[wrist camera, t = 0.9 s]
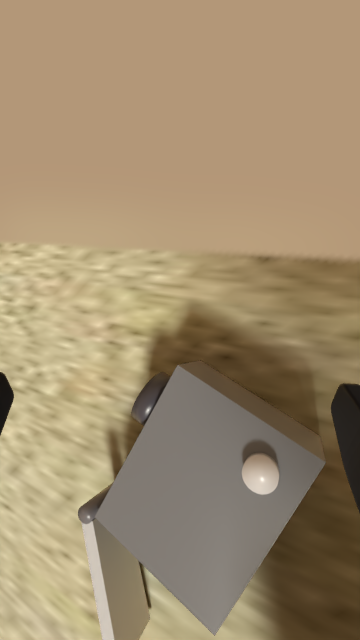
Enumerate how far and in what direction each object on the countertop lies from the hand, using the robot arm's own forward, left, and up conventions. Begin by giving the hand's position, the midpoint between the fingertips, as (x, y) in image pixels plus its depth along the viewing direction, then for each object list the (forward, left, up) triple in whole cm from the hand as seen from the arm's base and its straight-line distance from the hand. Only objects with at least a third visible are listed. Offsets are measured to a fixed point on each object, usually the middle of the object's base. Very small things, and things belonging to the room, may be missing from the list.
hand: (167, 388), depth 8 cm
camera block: (-6, -2, -11) cm, 13 cm away
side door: (-15, 0, -11) cm, 18 cm away
